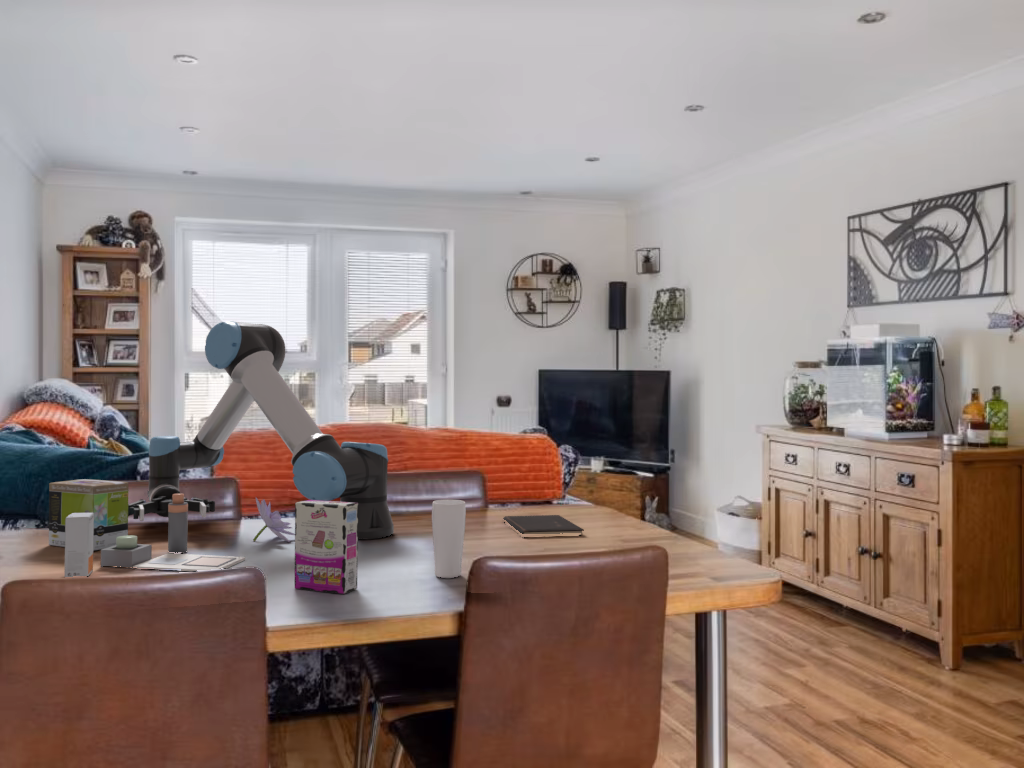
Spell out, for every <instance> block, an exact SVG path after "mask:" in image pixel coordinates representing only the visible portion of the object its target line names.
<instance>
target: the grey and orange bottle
mask: <svg viewBox="0 0 1024 768" xmlns="http://www.w3.org/2000/svg"><path fill="white" fill-rule="evenodd" d="M184 498H185V493H181V494H173V498H172V503H169V504H168V512H169V513H168V517H167V519H168V521H167V522H168V524H167V525H168V527H167V528H168V529H167V531H168V533H167V534H168V535H167V538H168V539H167V540H168V541H167V552H168V551H169V552H175V553H176V552H177V553H178V552H186V551H187V552H188V517H189V516H188V514H189V513H188V512H189V511H188V503H187V502H184Z"/></svg>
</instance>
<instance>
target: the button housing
mask: <svg viewBox="0 0 1024 768" xmlns="http://www.w3.org/2000/svg"><path fill="white" fill-rule="evenodd" d="M152 546H153V545H152V544H145V543H143V544H141V543H137V547H134V548H128V549H119V548H116V545H114V546H111V547H108V548H105V549H101V550H100V567H102V568H104V567H103V566H117V567H120V566H121V567H133V566H135V565H137V564H140V563H143V562H145V561H148V560H151V559H153V558H152V557H153V556H152V554H153V553H152V548H153V547H152Z"/></svg>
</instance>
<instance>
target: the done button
mask: <svg viewBox="0 0 1024 768" xmlns="http://www.w3.org/2000/svg"><path fill="white" fill-rule="evenodd" d="M137 544H138V536H137V535H133V534H132V535H129V534H128V536H119V537H117V538H116V548H119V549H128V548H134V547H137Z"/></svg>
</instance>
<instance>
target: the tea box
mask: <svg viewBox="0 0 1024 768" xmlns="http://www.w3.org/2000/svg"><path fill="white" fill-rule="evenodd" d="M48 485H49V489H48V492H49V493H48V494H49V495H48V546H54V547H62V548H65V519H66V517H68V515H70V514H72V513H94V533H93V552H94V551H101V550H102V549H105V548H108V547H111V546H114V545H116V538H117V537H119V536H128V535H129V516H128V504H129V492H130V491H129V482H128V481H119V480H118V481H117V480H107V479H106V480H103V479H102V480H101V479H91V478H89V479H88V478H87V479H86V478H84V479H83V478H82V479H74V480H73V479H72V480H63V481H55V482H50V483H48Z"/></svg>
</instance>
